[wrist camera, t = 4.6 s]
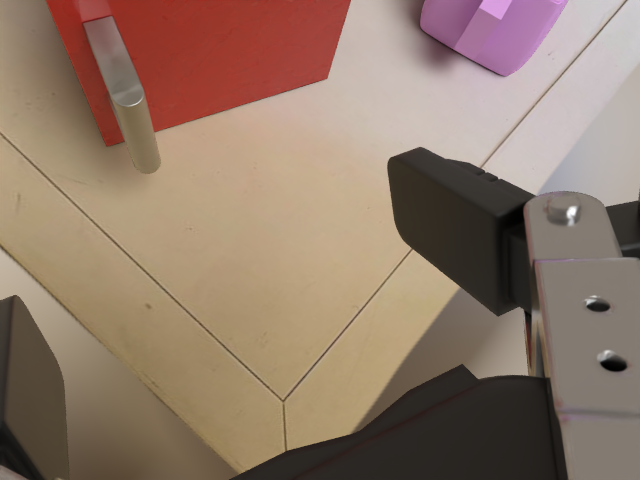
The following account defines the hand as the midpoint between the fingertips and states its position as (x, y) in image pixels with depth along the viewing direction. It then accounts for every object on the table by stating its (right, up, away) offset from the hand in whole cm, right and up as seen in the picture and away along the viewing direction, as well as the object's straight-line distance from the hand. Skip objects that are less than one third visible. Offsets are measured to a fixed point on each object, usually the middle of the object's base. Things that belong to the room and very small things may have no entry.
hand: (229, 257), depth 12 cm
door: (-4, +8, +30) cm, 32 cm away
